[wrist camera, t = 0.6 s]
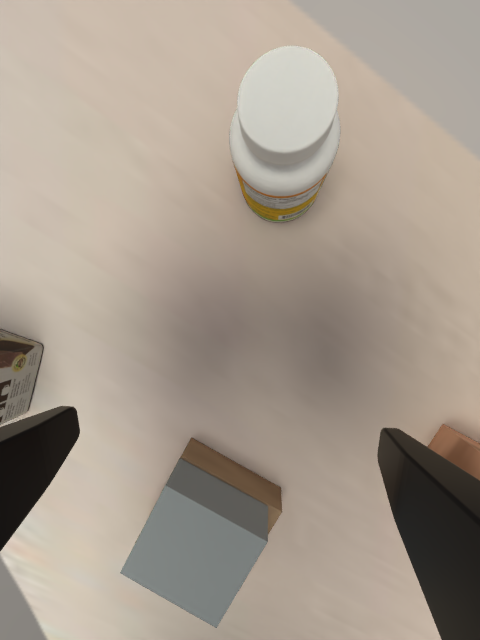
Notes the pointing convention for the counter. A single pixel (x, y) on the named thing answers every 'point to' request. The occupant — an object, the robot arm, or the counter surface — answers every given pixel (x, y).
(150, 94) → the counter surface
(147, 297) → the counter surface
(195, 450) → the walnut base slab
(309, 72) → the supplement bottle
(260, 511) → the slate top slab
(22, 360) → the coffee box
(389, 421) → the counter surface
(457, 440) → the terracotta cube
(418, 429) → the counter surface
